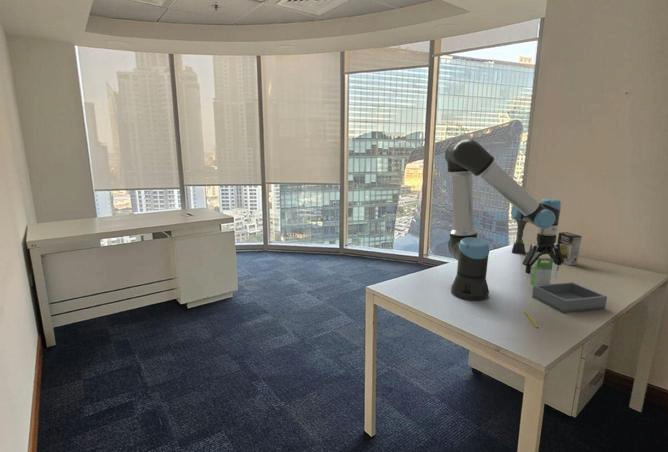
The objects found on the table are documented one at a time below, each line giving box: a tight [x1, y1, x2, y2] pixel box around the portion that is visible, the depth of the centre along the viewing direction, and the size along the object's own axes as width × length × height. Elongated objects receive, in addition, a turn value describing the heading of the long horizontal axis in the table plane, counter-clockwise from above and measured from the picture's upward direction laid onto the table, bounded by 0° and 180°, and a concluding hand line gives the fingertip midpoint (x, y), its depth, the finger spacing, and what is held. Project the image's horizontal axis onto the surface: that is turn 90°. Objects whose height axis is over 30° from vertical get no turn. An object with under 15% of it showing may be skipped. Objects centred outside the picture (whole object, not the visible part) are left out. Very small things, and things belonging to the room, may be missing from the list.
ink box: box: [529, 257, 554, 287], centre depth 171 cm, size 7×4×13 cm, turn 84°
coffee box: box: [556, 231, 583, 266], centre depth 206 cm, size 9×6×16 cm
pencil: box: [523, 310, 539, 329], centre depth 138 cm, size 1×14×1 cm, turn 171°
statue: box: [511, 220, 528, 255], centre depth 223 cm, size 7×8×30 cm
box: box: [531, 281, 608, 314], centre depth 153 cm, size 20×16×5 cm
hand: (540, 279), depth 172 cm, fingers open, 13 cm apart
